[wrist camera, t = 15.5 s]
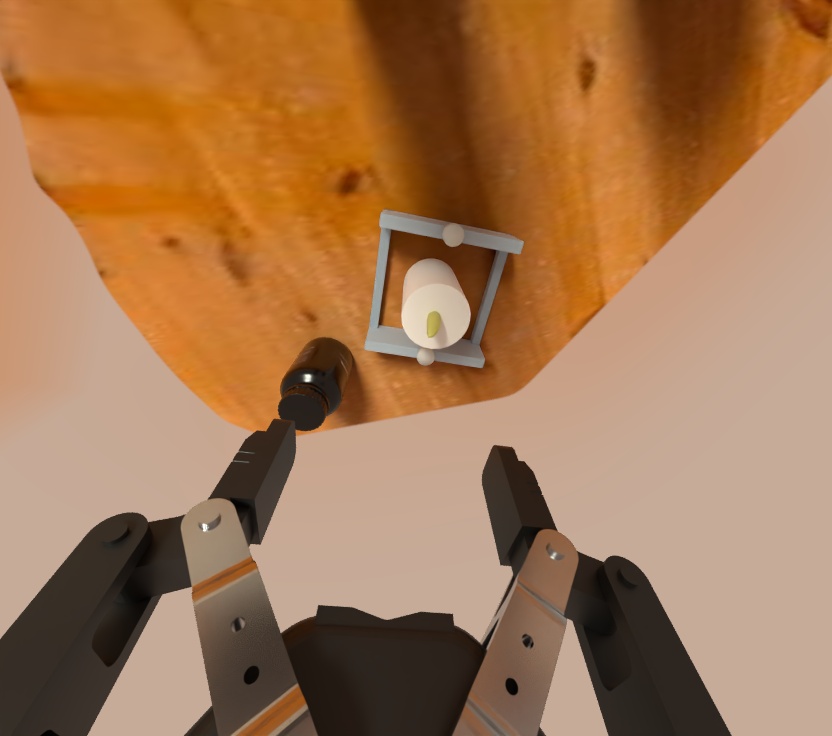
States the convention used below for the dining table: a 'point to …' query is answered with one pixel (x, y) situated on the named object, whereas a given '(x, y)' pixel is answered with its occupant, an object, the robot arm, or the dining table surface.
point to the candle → (434, 305)
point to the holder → (453, 236)
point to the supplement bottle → (315, 383)
